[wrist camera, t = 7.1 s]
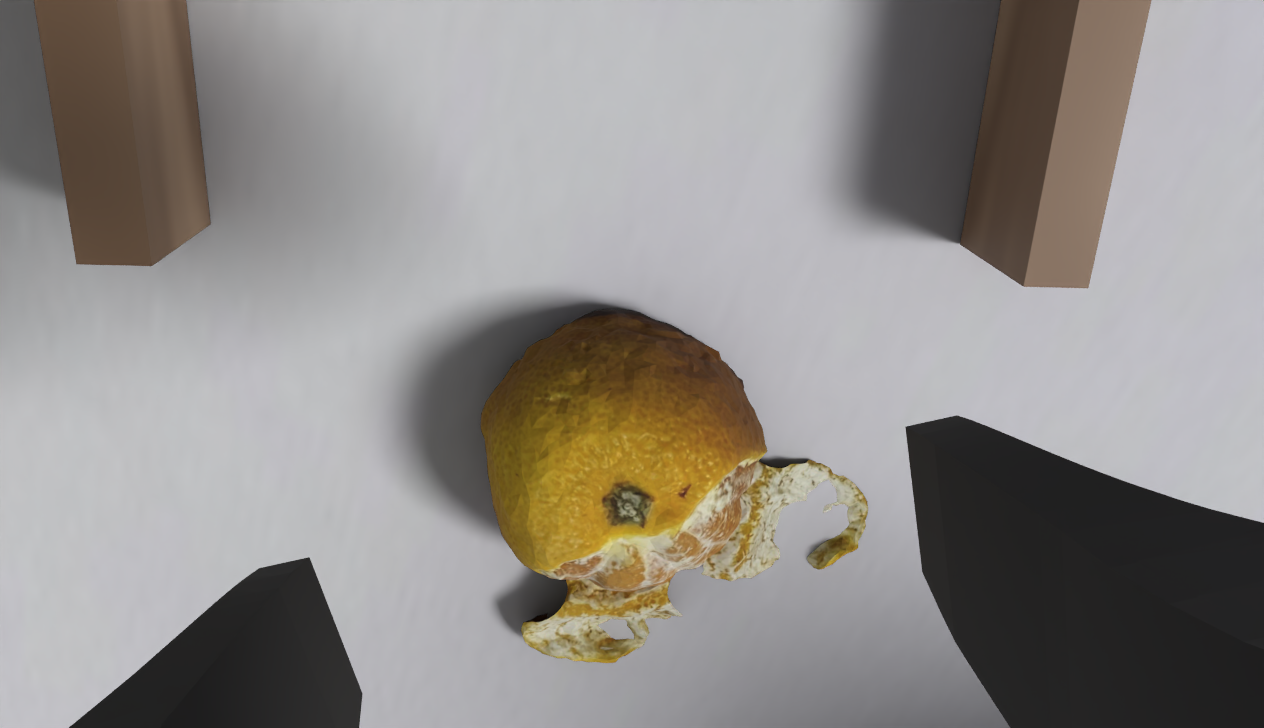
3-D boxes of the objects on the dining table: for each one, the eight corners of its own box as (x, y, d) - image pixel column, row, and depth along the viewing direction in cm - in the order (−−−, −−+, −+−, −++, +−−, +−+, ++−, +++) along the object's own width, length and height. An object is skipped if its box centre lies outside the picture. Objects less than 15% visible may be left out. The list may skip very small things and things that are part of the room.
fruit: (571, 678, 24) (574, 794, 21) (380, 407, 21) (347, 490, 18) (880, 528, 23) (936, 623, 20) (726, 223, 20) (761, 273, 17)
